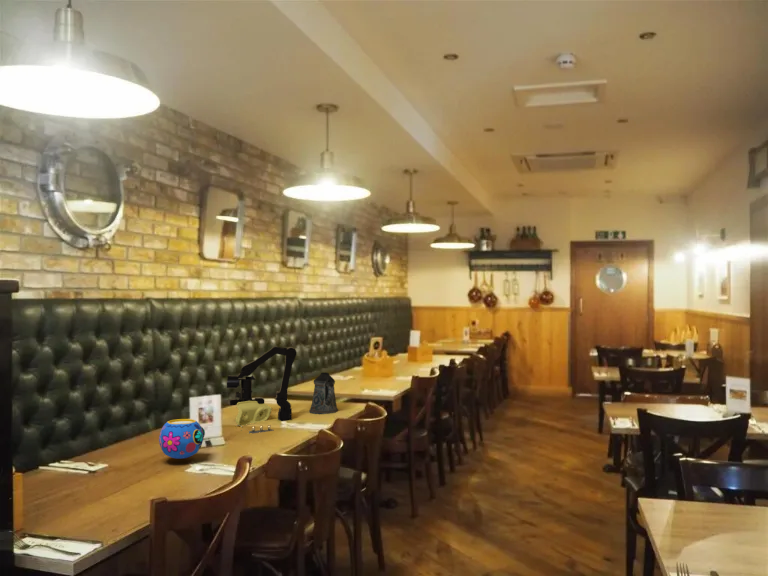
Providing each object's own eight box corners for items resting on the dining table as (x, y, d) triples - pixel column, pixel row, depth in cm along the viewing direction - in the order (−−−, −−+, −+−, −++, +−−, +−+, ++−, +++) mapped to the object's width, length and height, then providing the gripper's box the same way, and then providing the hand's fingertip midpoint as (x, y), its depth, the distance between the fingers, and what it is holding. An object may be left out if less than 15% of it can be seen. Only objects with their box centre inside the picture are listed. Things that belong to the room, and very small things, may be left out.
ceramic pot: (200, 462, 261) (201, 424, 261) (154, 463, 258) (155, 425, 258) (205, 452, 278) (206, 417, 278) (162, 453, 275) (163, 417, 275)
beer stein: (322, 413, 383) (323, 370, 383) (347, 416, 371) (348, 373, 372) (303, 416, 369) (304, 372, 370) (329, 420, 358) (329, 375, 359)
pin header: (272, 431, 326) (272, 424, 326) (273, 432, 323) (273, 425, 324) (248, 433, 320) (248, 426, 320) (250, 434, 318) (250, 427, 318)
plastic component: (237, 426, 337) (242, 410, 334) (229, 418, 341) (235, 402, 338) (267, 421, 351) (272, 406, 349) (260, 414, 356) (265, 398, 353)
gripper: (259, 385, 359) (258, 413, 359) (225, 387, 350) (224, 416, 350) (265, 388, 349) (264, 417, 349) (230, 389, 341) (229, 419, 340)
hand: (245, 417), depth 347 cm, fingers closed
